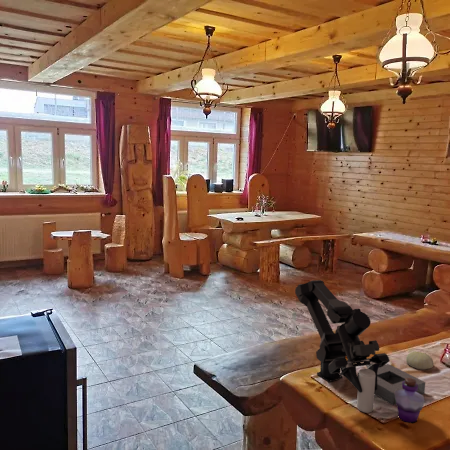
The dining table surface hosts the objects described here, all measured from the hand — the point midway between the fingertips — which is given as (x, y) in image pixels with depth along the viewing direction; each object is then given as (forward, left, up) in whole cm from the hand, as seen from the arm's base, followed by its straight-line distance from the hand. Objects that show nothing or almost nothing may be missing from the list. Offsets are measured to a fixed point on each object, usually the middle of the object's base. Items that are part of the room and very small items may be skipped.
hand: (368, 391), depth 133 cm
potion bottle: (+8, +8, -7) cm, 13 cm away
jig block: (-6, +17, -7) cm, 20 cm away
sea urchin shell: (-13, +41, -7) cm, 44 cm away
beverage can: (-1, 0, -7) cm, 7 cm away
